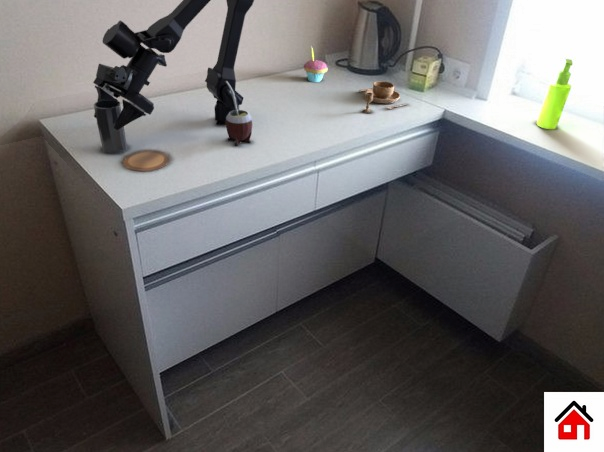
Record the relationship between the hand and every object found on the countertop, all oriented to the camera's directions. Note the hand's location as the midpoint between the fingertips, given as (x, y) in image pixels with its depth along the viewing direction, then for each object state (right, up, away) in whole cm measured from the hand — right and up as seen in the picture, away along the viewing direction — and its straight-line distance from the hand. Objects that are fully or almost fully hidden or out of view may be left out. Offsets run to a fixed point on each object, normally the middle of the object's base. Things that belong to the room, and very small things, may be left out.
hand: (105, 123), depth 122 cm
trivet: (+10, -9, 0) cm, 14 cm away
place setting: (+73, +17, +44) cm, 87 cm away
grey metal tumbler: (+1, -6, +5) cm, 7 cm away
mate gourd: (+31, -2, +13) cm, 34 cm away
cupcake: (+53, +28, +59) cm, 84 cm away
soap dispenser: (+126, +6, +34) cm, 130 cm away
